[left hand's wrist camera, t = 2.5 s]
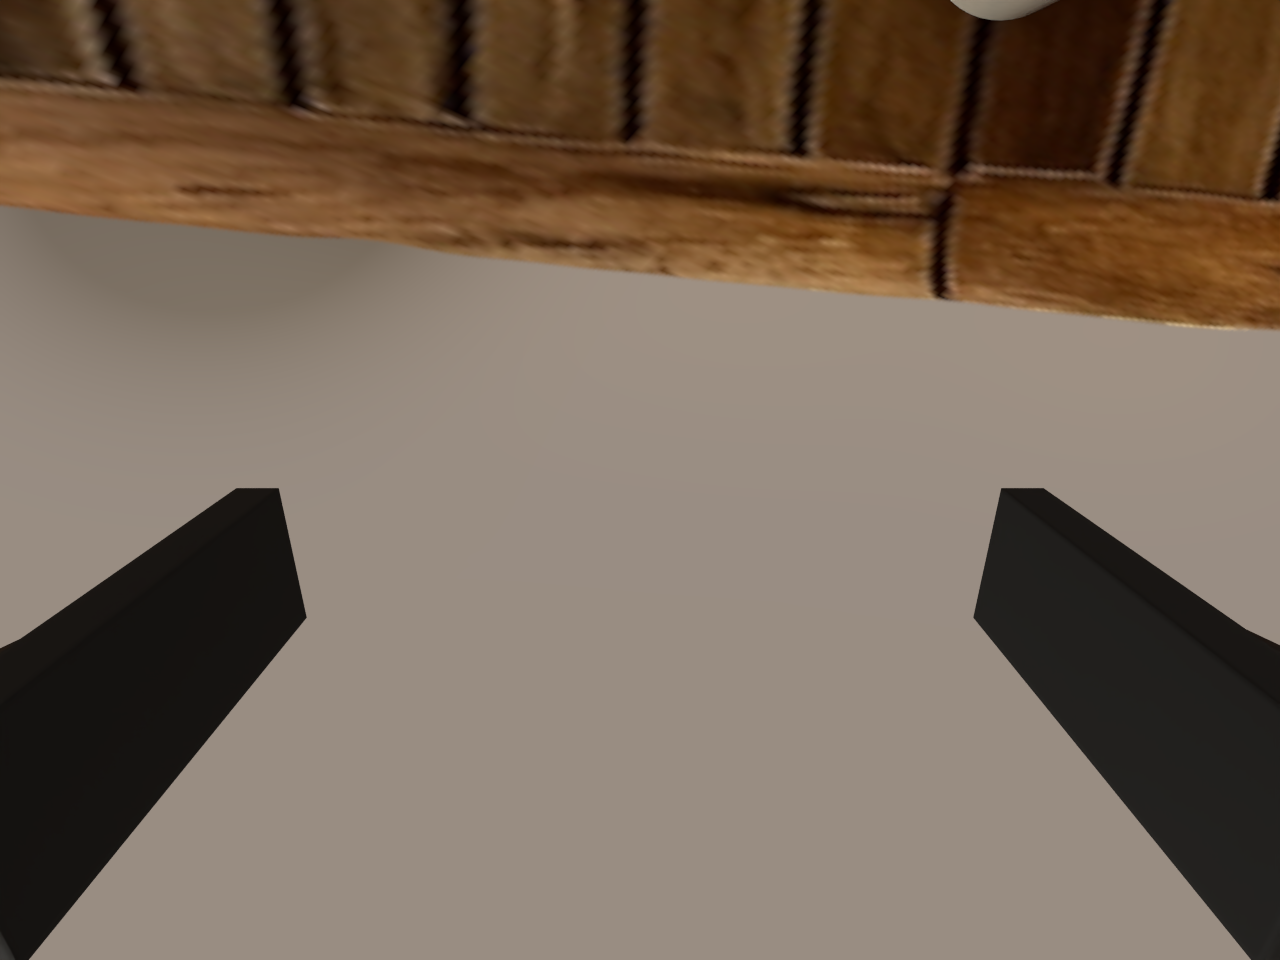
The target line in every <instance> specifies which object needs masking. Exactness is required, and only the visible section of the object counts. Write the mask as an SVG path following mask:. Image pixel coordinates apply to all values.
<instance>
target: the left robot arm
mask: <svg viewBox="0 0 1280 960" xmlns="http://www.w3.org/2000/svg"><path fill="white" fill-rule="evenodd" d="M305 619H306V613H305V608H304V603H303V599H302V594H301V589H300V585H299V580H298V576H297V571H296V566H295V562H294V557H293V553H292V548H291V543H290V539H289V534H288V529H287V525H286V520H285V516H284V511H283V506H282V502H281V497H280V492H279V489H278V488H236V489H235V490H233V491H232V492H230V493H229V494H228V495H226V496H225V497H223V498H222V499H220V500H219V501H218V502H216V503H215V504H213V505H212V506H210V507H209V508H207V509H206V510H205V511H203V512H202V513H200V514H199V515H197V516H196V517H195V518H193V519H192V520H190V521H189V522H187V523H186V524H185V525H183V526H182V527H180V528H179V529H177V530H176V531H175V532H173V533H172V534H170V535H169V536H167V537H166V538H165V539H163V540H162V541H160V542H159V543H157V544H156V545H154V546H153V547H152V548H150V549H149V550H147V551H146V552H144V553H143V554H142V555H140V556H139V557H137V558H136V559H134V560H133V561H132V562H130V563H129V564H127V565H126V566H124V567H123V568H121V569H120V570H119V571H117V572H116V573H114V574H113V575H111V576H110V577H109V578H107V579H106V580H104V581H103V582H101V583H100V584H98V585H97V586H96V587H94V588H93V589H91V590H90V591H88V592H87V593H86V594H84V595H83V596H81V597H80V598H78V599H77V600H76V601H74V602H73V603H71V604H70V605H68V606H67V607H65V608H64V609H63V610H61V611H60V612H58V613H57V614H55V615H54V616H53V617H51V618H50V619H48V620H47V621H45V622H44V623H43V624H41V625H40V626H38V627H37V628H35V629H34V630H32V631H31V632H30V633H28V634H27V635H25V636H24V637H22V638H21V639H19V640H17V641H15V642H13V643H11V644H8V645H6V646H4V647H2V648H0V960H29V959H30V958H31V956H32V955H33V954H34V953H35V951H36V950H37V949H38V948H39V946H40V945H41V944H42V943H43V942H44V940H45V939H46V938H47V937H48V935H49V934H50V933H51V932H52V930H53V929H54V928H55V927H56V925H57V924H58V923H59V922H60V921H61V919H62V918H63V917H64V916H65V914H66V913H67V912H68V911H69V910H70V908H71V907H72V906H73V905H74V903H75V902H76V901H77V900H78V898H79V897H80V896H81V895H82V893H83V892H84V891H85V890H86V889H87V887H88V886H89V885H90V884H91V882H92V881H93V880H94V879H95V877H96V876H97V875H98V874H99V872H100V871H101V870H102V869H103V868H104V866H105V865H106V864H107V863H108V861H109V860H110V859H111V858H112V857H113V855H114V854H115V853H116V852H117V850H118V849H119V848H120V847H121V845H122V844H123V843H124V842H125V841H126V839H127V838H128V837H129V836H130V834H131V833H132V832H133V831H134V829H135V828H136V827H137V826H138V825H139V823H140V822H141V821H142V820H143V818H144V817H145V816H146V815H147V813H148V812H149V811H150V810H151V809H152V807H153V806H154V805H155V804H156V802H157V801H158V800H159V799H160V797H161V796H162V795H163V794H164V793H165V791H166V790H167V789H168V788H169V786H170V785H171V784H172V783H173V781H174V780H175V779H176V778H177V777H178V775H179V774H180V773H181V772H182V770H183V769H184V768H185V767H186V765H187V764H188V763H189V762H190V761H191V759H192V758H193V757H194V756H195V754H196V753H197V752H198V751H199V749H200V748H201V747H202V746H203V745H204V743H205V742H206V741H207V740H208V738H209V737H210V736H211V735H212V733H213V732H214V731H215V730H216V729H217V727H218V726H219V725H220V724H221V722H222V721H223V720H224V719H225V717H226V716H227V715H228V714H229V712H230V711H231V710H232V709H233V708H234V706H235V705H236V704H237V703H238V701H239V700H240V699H241V698H242V696H243V695H244V694H245V693H246V692H247V690H248V689H249V688H250V687H251V685H252V684H253V683H254V682H255V680H256V679H257V678H258V677H259V675H260V674H261V673H262V672H263V671H264V669H265V668H266V667H267V666H268V664H269V663H270V662H271V661H272V660H273V658H274V657H275V656H276V655H277V653H278V652H279V651H280V650H281V648H282V647H283V646H284V645H285V643H286V642H287V641H288V640H289V639H290V637H291V636H292V635H293V634H294V632H295V631H296V630H297V629H298V628H299V626H300V625H301V624H302V623H303V621H304V620H305ZM974 619H975V620H976V621H977V622H978V624H979V625H980V626H981V628H982V629H983V630H984V631H985V632H986V634H987V635H988V636H989V637H990V639H991V640H992V641H993V642H994V644H995V645H996V646H997V647H998V648H999V650H1000V651H1001V652H1002V653H1003V655H1004V656H1005V657H1006V658H1007V660H1008V661H1009V662H1010V663H1011V664H1012V666H1013V667H1014V668H1015V669H1016V671H1017V672H1018V673H1019V674H1020V676H1021V677H1022V678H1023V679H1024V680H1025V682H1026V683H1027V684H1028V685H1029V687H1030V688H1031V689H1032V690H1033V692H1034V693H1035V694H1036V695H1037V696H1038V698H1039V699H1040V700H1041V701H1042V703H1043V704H1044V705H1045V706H1046V708H1047V709H1048V710H1049V711H1050V712H1051V714H1052V715H1053V716H1054V717H1055V719H1056V720H1057V721H1058V722H1059V724H1060V725H1061V726H1062V727H1063V729H1064V730H1065V731H1066V732H1067V733H1068V735H1069V736H1070V737H1071V738H1072V740H1073V741H1074V742H1075V743H1076V744H1077V746H1078V747H1079V748H1080V749H1081V751H1082V752H1083V753H1084V754H1085V755H1086V757H1087V758H1088V759H1089V760H1090V762H1091V763H1092V764H1093V765H1094V767H1095V768H1096V769H1097V770H1098V772H1099V773H1100V774H1101V775H1102V777H1103V778H1104V779H1105V780H1106V781H1107V783H1108V784H1109V785H1110V786H1111V788H1112V789H1113V790H1114V791H1115V793H1116V794H1117V795H1118V796H1119V797H1120V799H1121V800H1122V801H1123V802H1124V804H1125V805H1126V806H1127V807H1128V809H1129V810H1130V811H1131V812H1132V813H1133V815H1134V816H1135V817H1136V818H1137V820H1138V821H1139V822H1140V823H1141V825H1142V826H1143V827H1144V828H1145V829H1146V831H1147V832H1148V833H1149V834H1150V836H1151V837H1152V838H1153V839H1154V841H1155V842H1156V843H1157V844H1158V845H1159V847H1160V848H1161V849H1162V850H1163V852H1164V853H1165V854H1166V855H1167V857H1168V858H1169V859H1170V860H1171V861H1172V863H1173V864H1174V865H1175V866H1176V868H1177V869H1178V870H1179V871H1180V873H1181V874H1182V875H1183V876H1184V878H1185V879H1186V880H1187V881H1188V882H1189V884H1190V885H1191V886H1192V887H1193V889H1194V890H1195V891H1196V892H1197V894H1198V895H1199V896H1200V897H1201V898H1202V900H1203V901H1204V902H1205V903H1206V904H1207V906H1208V907H1209V908H1210V909H1211V911H1212V912H1213V913H1214V914H1215V916H1216V917H1217V918H1218V919H1219V921H1220V922H1221V923H1222V924H1223V926H1224V927H1225V928H1226V929H1227V930H1228V932H1229V933H1230V934H1231V935H1232V937H1233V938H1234V939H1235V940H1236V942H1237V943H1238V944H1239V945H1240V946H1241V948H1242V949H1243V950H1244V951H1245V953H1246V954H1247V955H1248V956H1249V958H1250V959H1251V960H1280V645H1278V644H1276V643H1274V642H1272V641H1270V640H1267V639H1265V638H1263V637H1261V636H1259V635H1257V634H1255V633H1253V632H1250V631H1248V630H1246V629H1245V628H1243V627H1242V626H1240V625H1239V624H1237V623H1236V622H1235V621H1233V620H1232V619H1230V618H1229V617H1227V616H1226V615H1225V614H1223V613H1222V612H1220V611H1219V610H1217V609H1216V608H1215V607H1213V606H1212V605H1210V604H1209V603H1207V602H1206V601H1204V600H1203V599H1202V598H1200V597H1199V596H1197V595H1196V594H1194V593H1193V592H1192V591H1190V590H1189V589H1187V588H1186V587H1184V586H1183V585H1182V584H1180V583H1179V582H1177V581H1176V580H1174V579H1173V578H1171V577H1170V576H1169V575H1167V574H1166V573H1164V572H1163V571H1161V570H1160V569H1159V568H1157V567H1156V566H1154V565H1153V564H1151V563H1150V562H1149V561H1147V560H1146V559H1144V558H1143V557H1141V556H1140V555H1138V554H1137V553H1136V552H1134V551H1133V550H1131V549H1130V548H1128V547H1127V546H1126V545H1124V544H1123V543H1121V542H1120V541H1118V540H1117V539H1116V538H1114V537H1113V536H1111V535H1110V534H1108V533H1107V532H1106V531H1104V530H1103V529H1101V528H1100V527H1098V526H1097V525H1095V524H1094V523H1093V522H1091V521H1090V520H1088V519H1087V518H1085V517H1084V516H1083V515H1081V514H1080V513H1078V512H1077V511H1075V510H1074V509H1072V508H1071V507H1070V506H1068V505H1067V504H1065V503H1064V502H1062V501H1061V500H1060V499H1058V498H1057V497H1055V496H1054V495H1052V494H1051V493H1050V492H1048V491H1047V490H1045V489H1044V488H1001V492H1000V497H999V502H998V506H997V511H996V515H995V520H994V525H993V529H992V534H991V539H990V543H989V548H988V553H987V557H986V562H985V566H984V571H983V576H982V580H981V585H980V589H979V594H978V599H977V603H976V608H975V613H974Z"/></svg>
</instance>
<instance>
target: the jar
mask: <svg viewBox="0 0 1280 960" xmlns="http://www.w3.org/2000/svg"><path fill="white" fill-rule="evenodd" d="M950 1H952V2H953V3H954V4H955V5H956V6H958V7H959V8H960V9H962V10H964V11H965V12H967V13H969V14H971V15H974V16H977V17H979V18H984V19H989V20H1010V19H1016V18H1020V17H1024V16H1027V15H1029V14H1032V13H1034V12H1037V11H1039V10H1041V9H1043V8H1045V7H1047V6H1049V5H1051V4H1053V3H1055V2H1057V1H1059V0H950Z"/></svg>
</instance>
